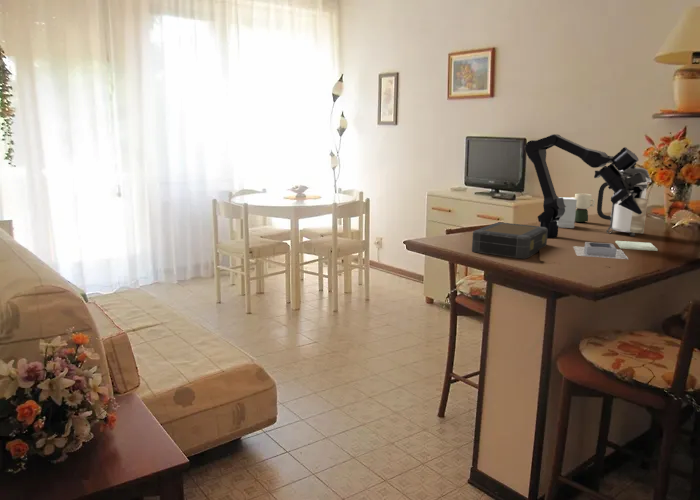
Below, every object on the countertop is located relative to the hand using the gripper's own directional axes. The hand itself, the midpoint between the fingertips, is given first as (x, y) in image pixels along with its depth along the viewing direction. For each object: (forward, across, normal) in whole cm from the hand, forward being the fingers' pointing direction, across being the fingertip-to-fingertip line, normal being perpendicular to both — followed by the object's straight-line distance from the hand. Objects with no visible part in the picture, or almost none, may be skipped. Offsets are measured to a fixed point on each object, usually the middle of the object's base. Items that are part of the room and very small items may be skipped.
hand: (643, 213), depth 207 cm
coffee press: (-2, +30, +21) cm, 37 cm away
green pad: (+9, +1, +10) cm, 14 cm away
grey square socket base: (+5, -20, +14) cm, 25 cm away
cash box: (-14, -34, +34) cm, 50 cm away
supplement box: (-18, +29, +38) cm, 51 cm away
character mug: (-18, +46, +38) cm, 62 cm away
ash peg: (+4, 0, +6) cm, 7 cm away
